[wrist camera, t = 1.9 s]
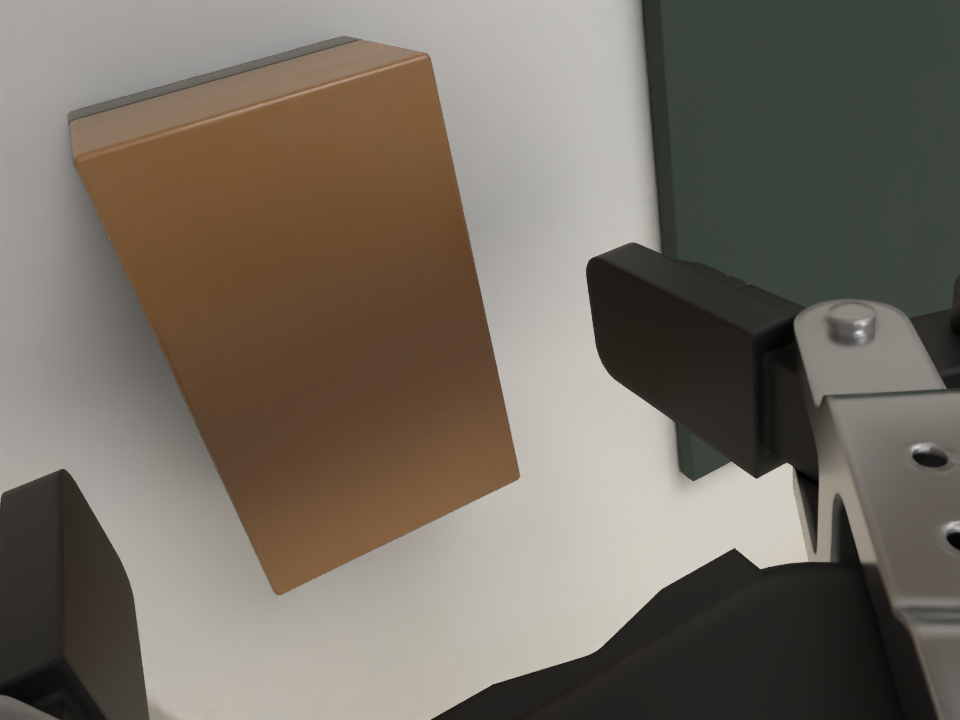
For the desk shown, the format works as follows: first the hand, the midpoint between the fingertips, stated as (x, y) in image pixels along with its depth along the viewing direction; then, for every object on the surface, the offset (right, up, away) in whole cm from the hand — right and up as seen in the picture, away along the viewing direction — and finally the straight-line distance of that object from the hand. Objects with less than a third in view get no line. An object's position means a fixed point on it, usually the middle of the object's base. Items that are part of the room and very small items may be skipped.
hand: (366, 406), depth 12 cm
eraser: (-2, +2, +4) cm, 5 cm away
